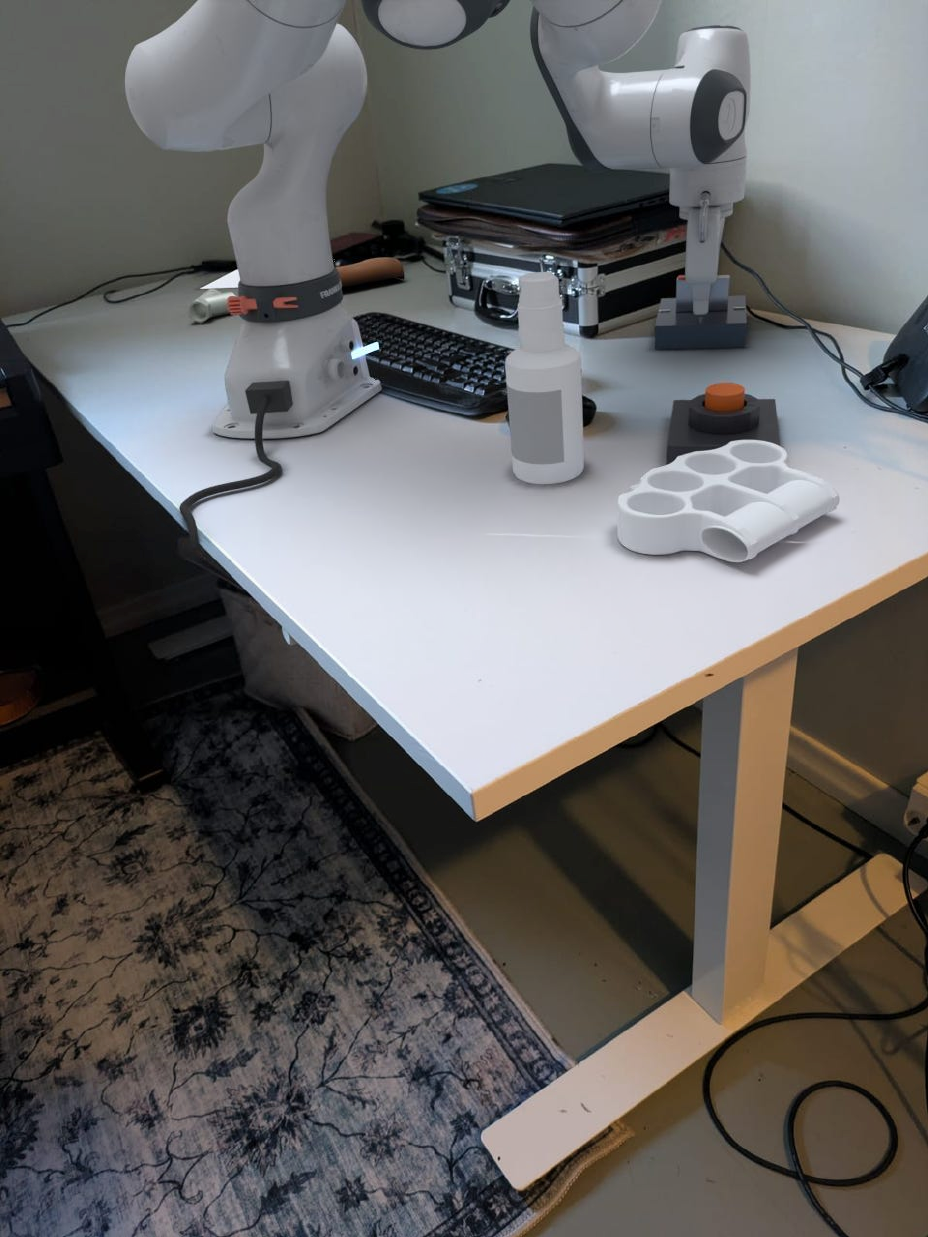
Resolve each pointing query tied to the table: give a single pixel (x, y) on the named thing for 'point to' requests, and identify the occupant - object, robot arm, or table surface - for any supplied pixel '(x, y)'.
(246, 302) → the robot arm
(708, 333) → the grey flat block
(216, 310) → the pipe fitting
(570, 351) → the spray bottle
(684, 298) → the upright grey plate
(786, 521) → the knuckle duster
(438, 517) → the table surface
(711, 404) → the release button
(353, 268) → the sunglasses case
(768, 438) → the release housing
